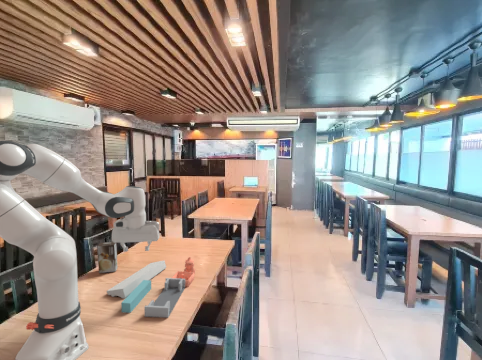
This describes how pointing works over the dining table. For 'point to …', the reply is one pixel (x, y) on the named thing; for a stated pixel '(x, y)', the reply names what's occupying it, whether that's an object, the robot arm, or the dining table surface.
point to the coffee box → (107, 257)
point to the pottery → (187, 272)
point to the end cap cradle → (166, 299)
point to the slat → (136, 296)
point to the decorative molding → (136, 279)
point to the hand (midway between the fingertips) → (136, 250)
